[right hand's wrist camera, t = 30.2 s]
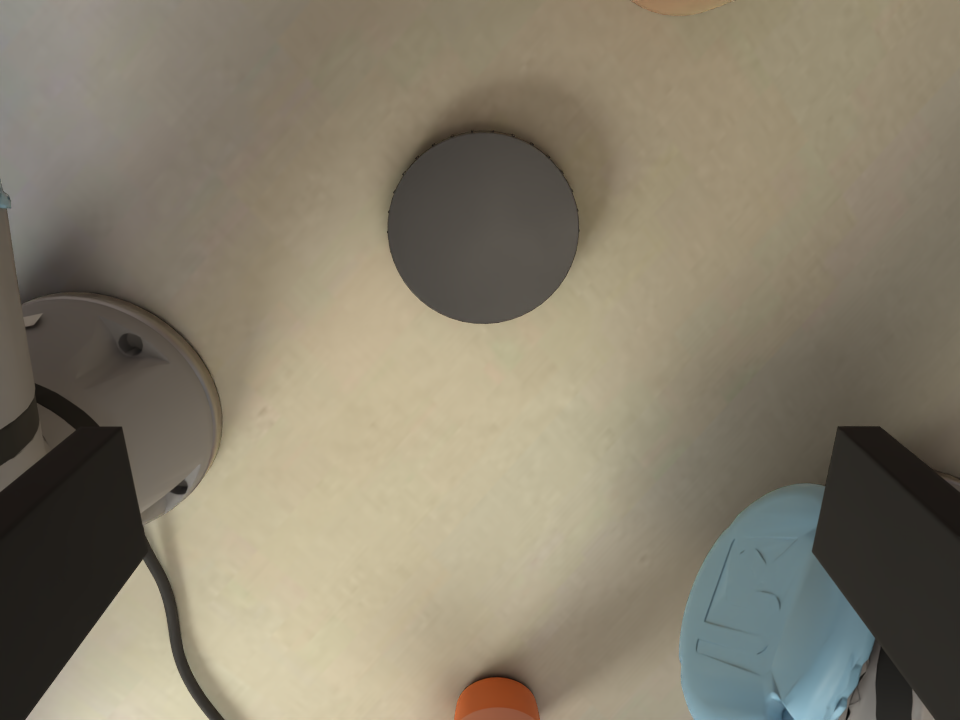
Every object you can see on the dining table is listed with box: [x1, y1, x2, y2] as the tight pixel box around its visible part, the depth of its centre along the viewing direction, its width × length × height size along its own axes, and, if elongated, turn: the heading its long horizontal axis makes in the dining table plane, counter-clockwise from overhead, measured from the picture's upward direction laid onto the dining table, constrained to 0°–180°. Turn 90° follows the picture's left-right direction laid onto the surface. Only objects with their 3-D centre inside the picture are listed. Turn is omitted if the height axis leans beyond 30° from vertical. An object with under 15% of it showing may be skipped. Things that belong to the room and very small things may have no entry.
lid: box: [387, 130, 579, 324], centre depth 38 cm, size 11×11×2 cm
